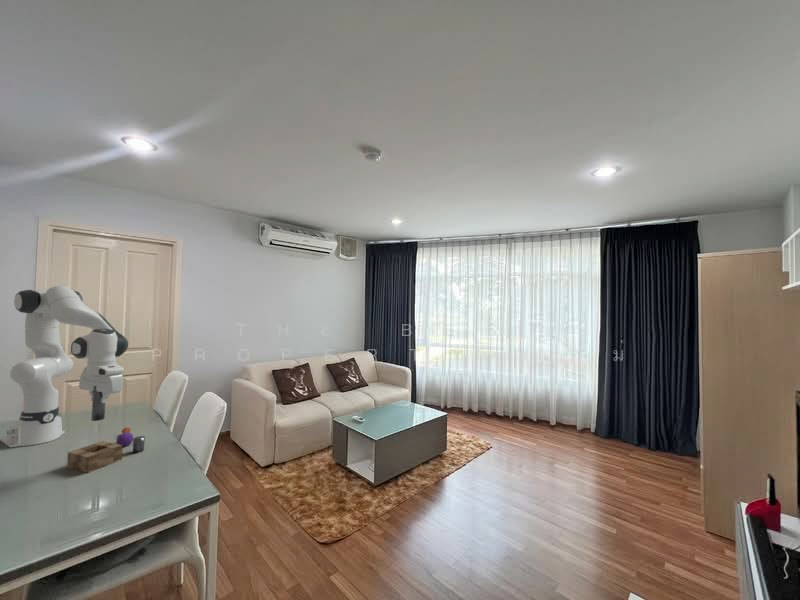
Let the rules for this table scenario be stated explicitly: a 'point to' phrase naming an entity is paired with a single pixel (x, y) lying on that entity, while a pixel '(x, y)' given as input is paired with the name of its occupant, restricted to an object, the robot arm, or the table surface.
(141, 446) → the short pin
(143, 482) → the table surface
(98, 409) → the long pin
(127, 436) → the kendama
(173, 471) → the table surface
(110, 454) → the hole block
